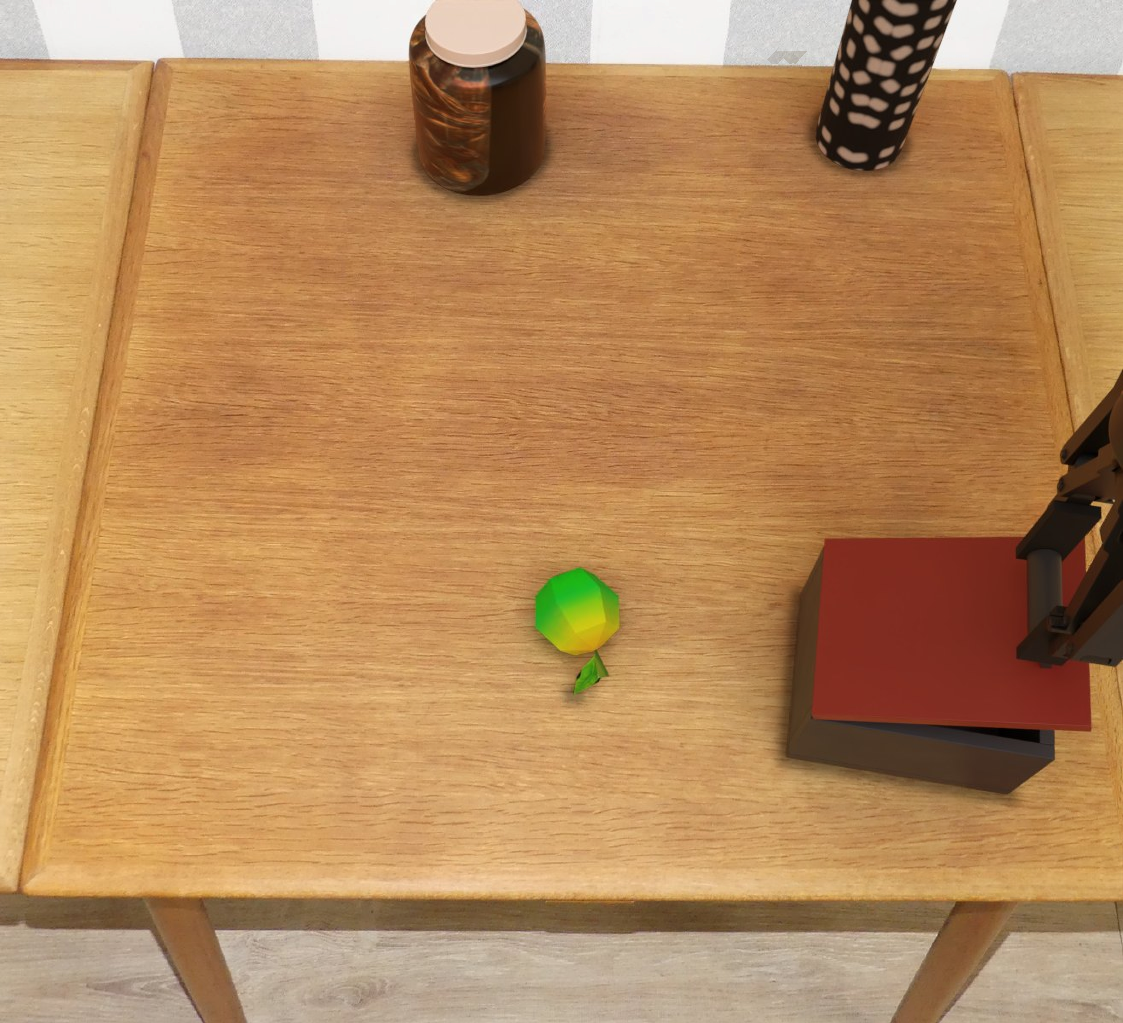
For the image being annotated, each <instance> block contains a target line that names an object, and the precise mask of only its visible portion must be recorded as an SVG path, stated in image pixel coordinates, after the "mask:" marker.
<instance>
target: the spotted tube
mask: <svg viewBox="0 0 1123 1023" xmlns="http://www.w3.org/2000/svg"><path fill="white" fill-rule="evenodd" d="M957 1H958V0H851V2H850V5H849V9H848V13H847V17H846V19H845V23H844V26H843V31H842V33H841V34H842V35H841V37H840V42H839V45H838V49H837V53H836V55H835V59H834V62H833V66H832V70H831V73H830V77H829V81H828V84H827V88H826V91H825V95H824V98H823V103H822V105H821V110H820V113H819V117H818V121H817V124H816V128H815V140H816V143H817V146H818V148H819V149H820V151H821V152H822V153H823V155H824V156H825V157H827V158H828V159H829V160H831V161H832V162H834V163H835V164H836V165H838V166H840V167H843V168H846V169H850V170H854V171H863V172H867V171H875V170H876V171H877V170H879V169H883V168H885V167H888V166H889V165H891V164H892V163H894V162H895V161H896V160H897V158H898V157H899V156H900V155H901V153H902V150H903V147H904V145H905V143H906V140H907V138H908V137H907V136H908V134H909V131H910V129H911V126H912V123H913V120H914V118H915V115H916V112H917V110H918V107H919V105H920V101H921V99H922V96H923V94H924V91H925V88H926V85H927V83H928V81H929V78H930V75H931V72H932V70H933V69H932V68H933V66H934V63H935V62H936V61H935V60H936V58H937V56H938V53H939V50H940V47H941V45H942V42H943V39H944V36H945V34H946V31H947V28H948V26H949V23H950V20H951V17H952V15H953V12H954V9H955V7H956V4H957Z"/></svg>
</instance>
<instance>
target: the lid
mask: <svg viewBox="0 0 1123 1023" xmlns="http://www.w3.org/2000/svg"><path fill="white" fill-rule="evenodd" d="M1024 537H1025V536H959V537H958V536H955V537H954V536H953V537H948V536H947V537H946V536H945V537H944V536H943V537H942V536H941V537H939V536H937V537H847V538H846V537H842V538H841V537H839V538H838V537H837V538H836V537H834V538H833V537H830V538H828V537H827V538H824V542H823V543H824V544H823V547H824V554H823V567H822V580H821V594H820V607H819V620H818V633H817V647H816V660H815V673H814V687H813V700H812V713H811V714H812V716H813V718H814V719H821V720H843V721H865V722H887V723H908V724H930V725H952V726H974V727H996V728H1018V729H1040V730H1055V731H1062V732H1063V731H1064V732H1084V733H1087V732H1088V733H1090V732H1092V702H1091V701H1092V698H1091V696H1092V695H1091V673H1090V672H1091V670H1090V668H1091V667H1090V663H1086V662H1079V661H1073V660H1068V661H1067V662H1066V663H1065V664H1064V665H1062V666H1059V665H1052V664H1046V663H1039V662H1033V661H1027V660H1020V659H1016V647H1017V646H1018V645H1019V644H1020V643H1021V642H1022V641H1023V640H1024V639H1025V638H1026V637H1027V636H1028V635H1029V634H1030V633H1031V631H1032V630H1033V629H1034V628H1035V627H1036V626H1037V625H1038V624H1039V623H1040V622H1041V621H1042V620H1043V619H1044V618H1045V617H1046V616H1047V615H1048V614H1049V612H1051V611H1052V610H1053V609H1054V607H1055V606H1056V605H1058V606H1065V607H1067V606H1068V605H1069V603H1070V601H1071V599H1072V597H1073V595H1074V594H1075V592H1076V590H1077V588H1078V586H1079V585H1080V583H1081V581H1082V579H1083V577H1084V576H1085V574H1086V572H1087V556H1086V555H1087V553H1086V536H1085V537H1084V538H1083V539H1082V541H1081V542H1080V543H1079V544H1078V545H1077V546H1076V547H1075V548H1074V549H1073V551H1072V552H1071V553H1070V554H1069V555H1068V556H1067V557H1066V558H1065V559H1064V561H1063V562H1062V561H1061V554H1060V553H1059V552H1057V551H1055V550H1051V549H1037V550H1033V551H1031V552H1029V553H1028V554H1027V560H1022V559H1016V547H1017V546H1018V544H1019V543H1020V542H1021V541H1022V539H1023V538H1024Z"/></svg>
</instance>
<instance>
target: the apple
mask: <svg viewBox="0 0 1123 1023" xmlns="http://www.w3.org/2000/svg"><path fill="white" fill-rule="evenodd" d="M534 600H535V601H534V602H535V604H534V606H535V612H534V613H535V614H534V619H535V620H534V621H535V622H534V627H535V629H536V630H537V631H538V632H539V633H541V635H543V636H544V637H545V639H547V640H548V641H549V642H550V643H551V644H552V645H554V647H556V648H557V650H559V651H561V652H563V653H566V654H569V655H572V656H579V655H583V654H586V653H591V652H593V655H594V656H593V657H591V659H590V660H588V662H587V663H585V665H584V666H583V667H582V668H581V669H580V671H579V672H578V674H577V675H576V679H575V685H574V690H573V696H575V695H577V694H579V693H580V692H582V691H584V690H586V689H588V688H590V687H592V686H594V685H596V684H597V683H600V681H601V679H603V678H608V677H609V678H610V674H609V672H608V670H607V668H606V666H605V664H604V662H603V660H602V658H601V656H600V654H599V653H598V649H599V648H601V647H602V646H603V645H604V644H606V643H607V641H609V640H610V638H612V636H613V635H614V634H615V633H616V632H617V631H618V630H619V629H620V628H621V626H620V624H621V623H620V596H619V595H618V594H617V593H616V592H615V591H614V590H613V589H612V588H610V586H608V585H607V584H606V583H605V582H603V581H602V579H600V578H599V577H598V576H597V575H596V574H595V573H593V572H591V571H589V570H587V569H585V568H582V567H581V566H579V567H577V568H573V569H570V570H567V571H564V572H562V573H561V572H560V573H559V574H557V575H554V576H552V577H550V578H549V579H548V580H547V581H546V583H545V584H544V585H543V586H542V587H541V589H540V590H539V591H538V592H537V593H536V594H535V598H534Z"/></svg>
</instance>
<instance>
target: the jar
mask: <svg viewBox="0 0 1123 1023" xmlns="http://www.w3.org/2000/svg"><path fill="white" fill-rule="evenodd" d="M545 42H546V41H545V37H544V33H543V30H542V27H541V26H540V24H539V22H538V20H537V19H536V18H535V17H534V15H532V13H530V11H528V10H527V9H525V7H524V6H523V4H522V3H521V2H520V1H519V0H435V1H433V2H432V4H430V6H429V8H428V10H427V12H426V14H424V15H423V16H422V17H421V19H420V20H418V22H417V23H416V24H415V26H414V28H413V30H412V33H411V35H410V38H409V44H408V68H409V70H408V71H409V79H410V80H409V81H410V90H411V99H412V108H413V109H412V110H413V118H414V127H415V134H416V143H417V150H418V157H419V161H420V163H421V166H422V168H423V170H424V171H425V173H426V174H427V175H428V176H429V178H430V179H431V180H433V181H434V182H435V183H436V184H438V185H440V186H441V187H443V188H445V189H447V190H450V191H451V192H455V193H459V194H463V195H470V196H486V195H487V196H488V195H494V194H495V195H496V194H499V193H503V192H506V191H509V190H511V189H514V188H516V187H517V186H519V185H522V184H523V183H524V182H526V181H527V180H528V179H529V178H530V177H532V176H533V175H534V173H536V171H537V170H538V169H539V167H540V165H541V163H542V162H543V159H544V155H545V150H546V135H547V134H546V133H547V132H546V130H547V128H546V127H547V55H546V43H545Z"/></svg>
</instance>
